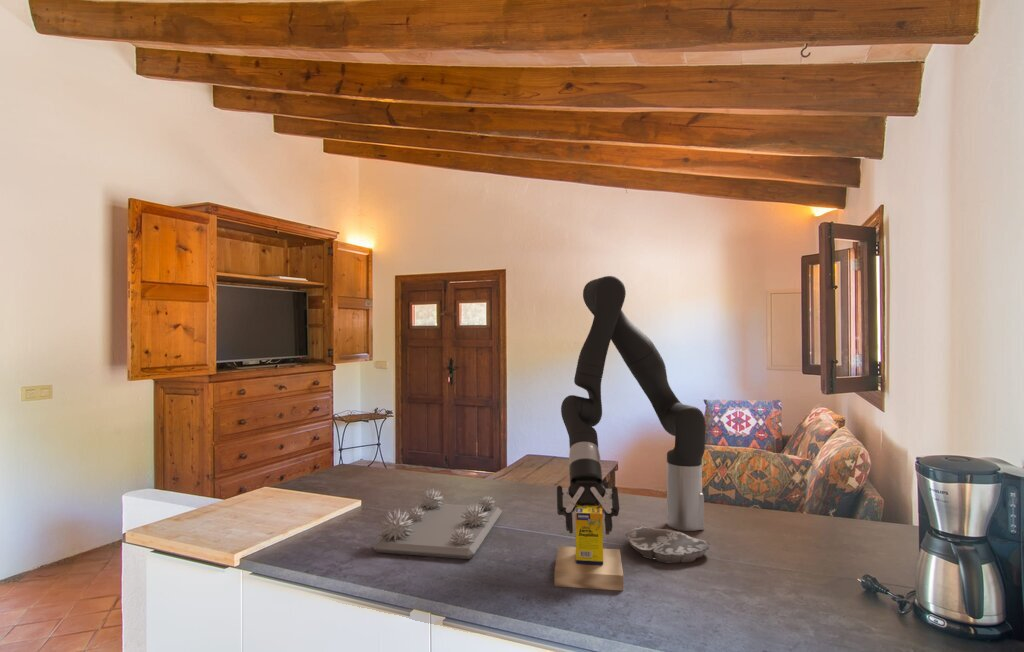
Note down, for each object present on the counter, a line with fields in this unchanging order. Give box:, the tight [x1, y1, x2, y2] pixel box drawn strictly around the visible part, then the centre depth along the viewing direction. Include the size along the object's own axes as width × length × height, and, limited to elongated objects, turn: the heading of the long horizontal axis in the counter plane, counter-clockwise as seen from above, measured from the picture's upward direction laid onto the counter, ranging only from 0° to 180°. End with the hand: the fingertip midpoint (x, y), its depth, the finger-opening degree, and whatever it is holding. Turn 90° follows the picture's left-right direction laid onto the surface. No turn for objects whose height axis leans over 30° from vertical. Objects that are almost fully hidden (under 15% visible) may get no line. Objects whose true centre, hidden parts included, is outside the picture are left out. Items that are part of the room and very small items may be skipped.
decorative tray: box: [372, 487, 503, 560], centre depth 143 cm, size 35×26×10 cm
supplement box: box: [574, 505, 604, 565], centre depth 118 cm, size 6×6×11 cm
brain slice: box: [625, 526, 711, 564], centre depth 129 cm, size 20×17×3 cm
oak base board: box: [554, 545, 624, 592], centre depth 117 cm, size 14×14×3 cm
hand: (589, 532), depth 116 cm, fingers open, 7 cm apart
